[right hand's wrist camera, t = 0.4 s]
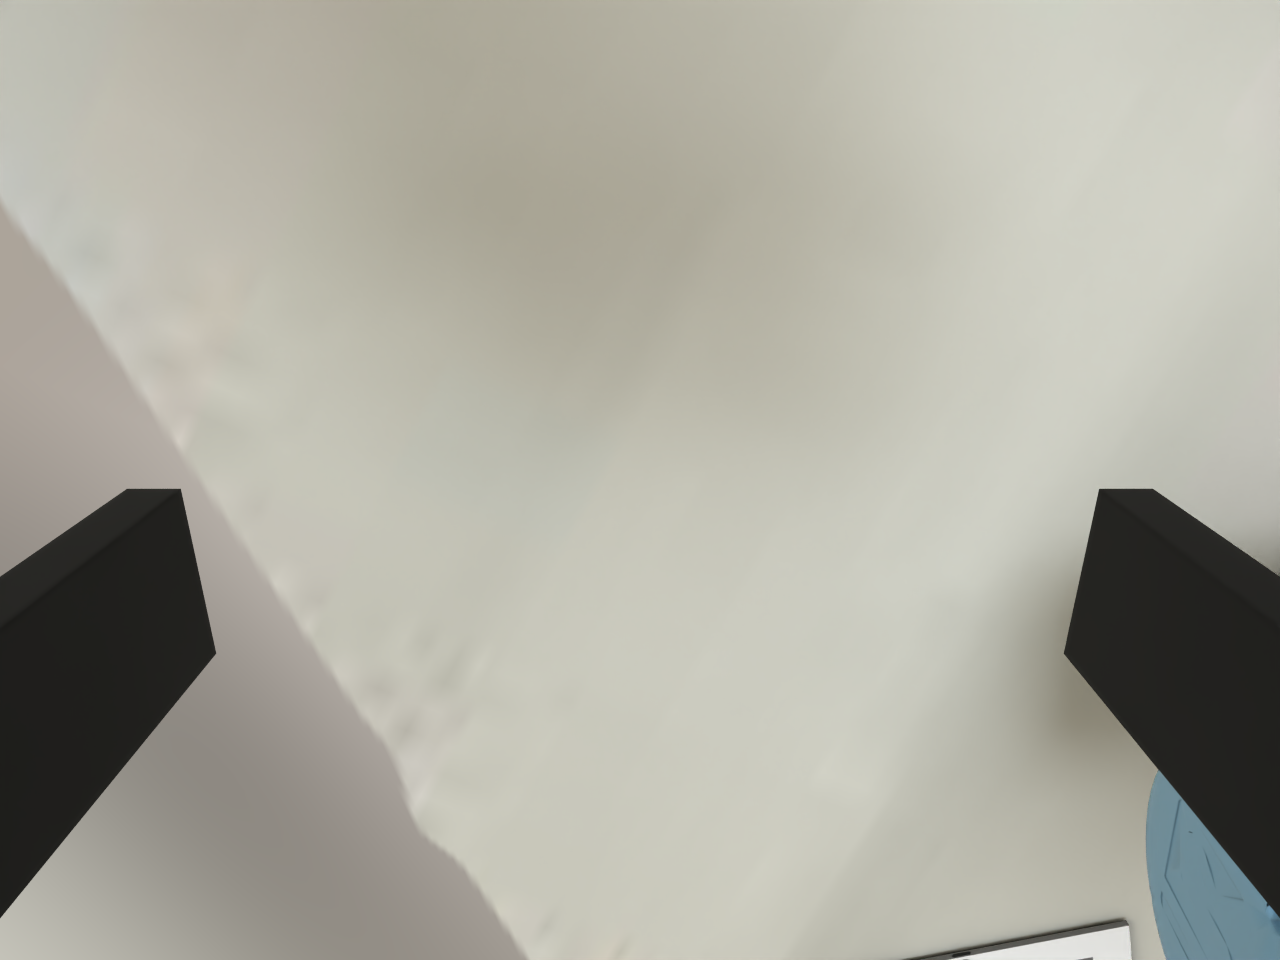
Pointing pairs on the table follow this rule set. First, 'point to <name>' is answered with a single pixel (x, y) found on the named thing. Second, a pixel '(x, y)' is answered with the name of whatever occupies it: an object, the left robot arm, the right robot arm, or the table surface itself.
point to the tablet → (1059, 946)
